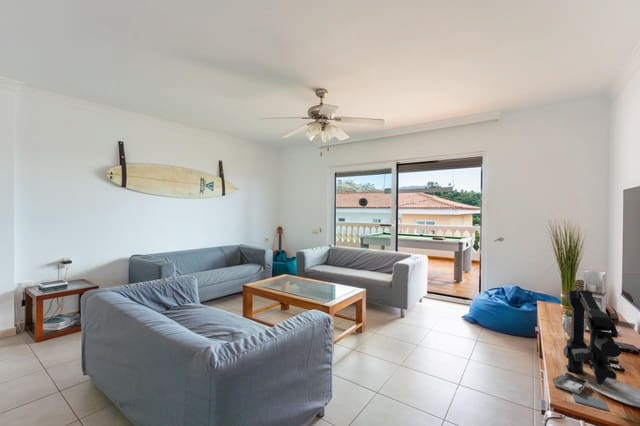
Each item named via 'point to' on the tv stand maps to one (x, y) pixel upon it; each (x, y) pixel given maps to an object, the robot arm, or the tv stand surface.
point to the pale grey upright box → (596, 287)
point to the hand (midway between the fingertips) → (598, 384)
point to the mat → (590, 401)
